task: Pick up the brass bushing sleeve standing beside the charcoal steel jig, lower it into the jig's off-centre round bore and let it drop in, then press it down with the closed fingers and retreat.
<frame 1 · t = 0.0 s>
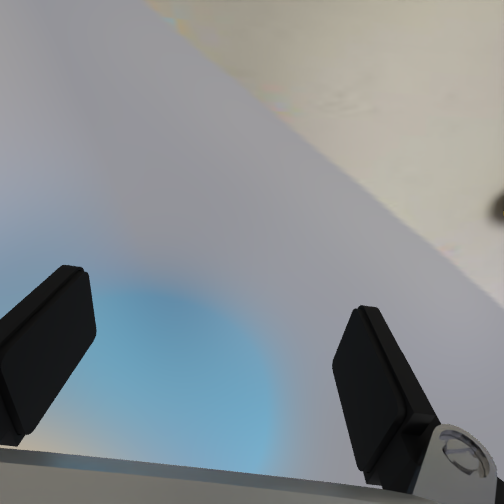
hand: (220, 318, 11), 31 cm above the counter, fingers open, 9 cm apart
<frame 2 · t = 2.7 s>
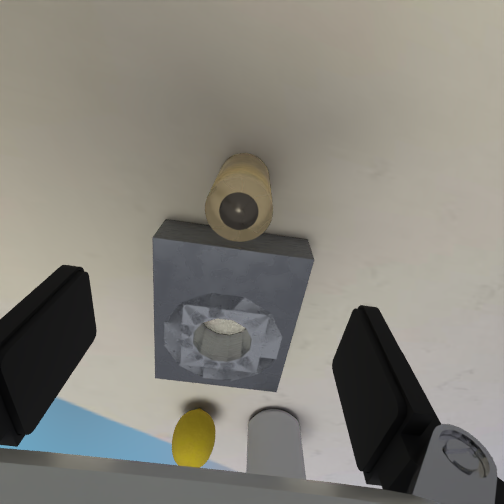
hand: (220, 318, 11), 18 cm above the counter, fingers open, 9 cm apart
can: (273, 419, 44), on the counter
bushing: (244, 179, 27), on the counter
jig: (227, 301, 33), on the counter
lemon: (199, 407, 43), on the counter
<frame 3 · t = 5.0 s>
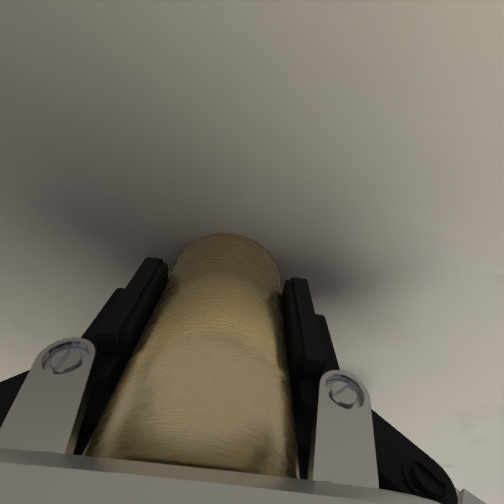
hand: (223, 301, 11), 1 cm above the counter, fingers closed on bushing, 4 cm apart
bushing: (227, 281, 13), on the counter, touching gripper
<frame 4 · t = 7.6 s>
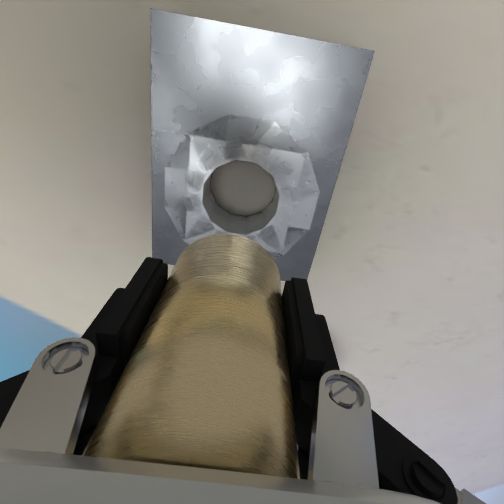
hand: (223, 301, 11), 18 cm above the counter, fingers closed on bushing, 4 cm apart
bushing: (227, 281, 13), point 16 cm above the counter, touching gripper
jig: (246, 163, 26), on the counter
when the fingers open (5 cm above the counter, at t = 10.4 s): bushing drops 3 cm, resting in jig.
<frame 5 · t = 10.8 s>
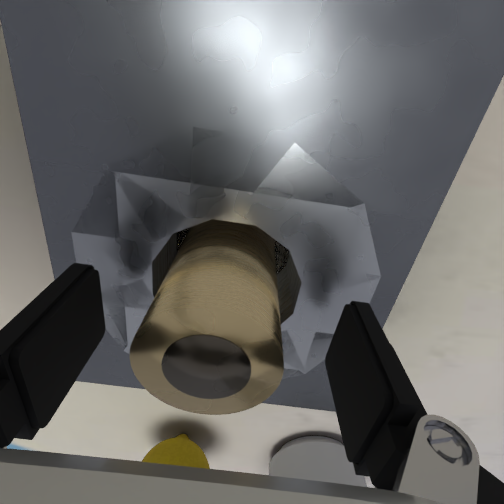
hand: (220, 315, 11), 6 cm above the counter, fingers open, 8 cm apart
can: (312, 453, 25), on the counter
bushing: (231, 243, 16), resting in jig
jig: (238, 209, 15), on the counter
lemon: (184, 432, 24), on the counter
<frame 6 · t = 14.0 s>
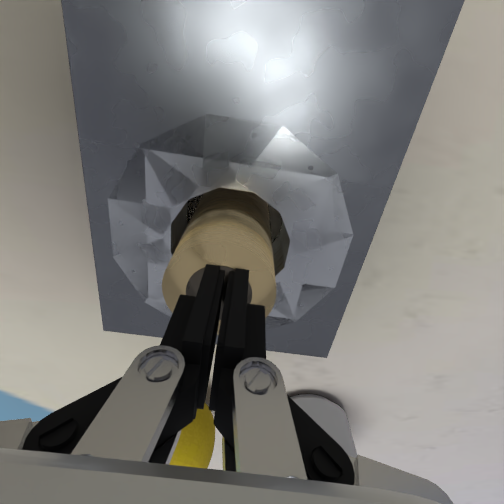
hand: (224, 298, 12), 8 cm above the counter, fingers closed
can: (304, 411, 29), on the counter
bushing: (233, 215, 19), resting in jig, touching gripper
jig: (239, 185, 18), on the counter
lemon: (190, 392, 27), on the counter
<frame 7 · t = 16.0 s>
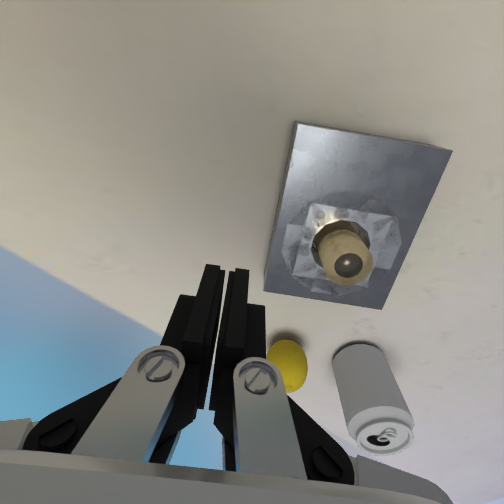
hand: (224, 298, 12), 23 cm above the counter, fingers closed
can: (356, 357, 44), on the counter
bushing: (332, 231, 35), resting in jig
jig: (337, 216, 34), on the counter
lemon: (284, 341, 43), on the counter
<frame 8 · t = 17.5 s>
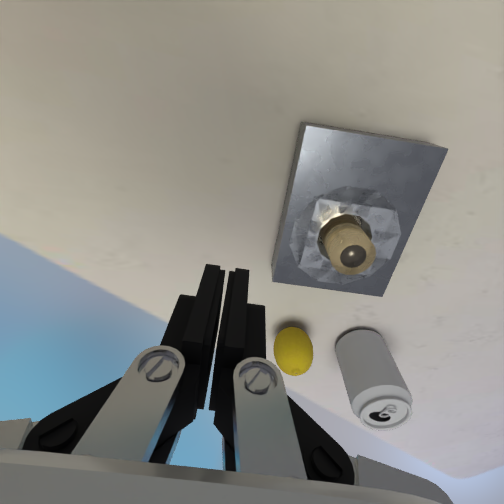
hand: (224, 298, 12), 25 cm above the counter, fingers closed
can: (357, 342, 47), on the counter
bushing: (335, 224, 37), resting in jig
jig: (341, 210, 36), on the counter
lemon: (290, 328, 46), on the counter
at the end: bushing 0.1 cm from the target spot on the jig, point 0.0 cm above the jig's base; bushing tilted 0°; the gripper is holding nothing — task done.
